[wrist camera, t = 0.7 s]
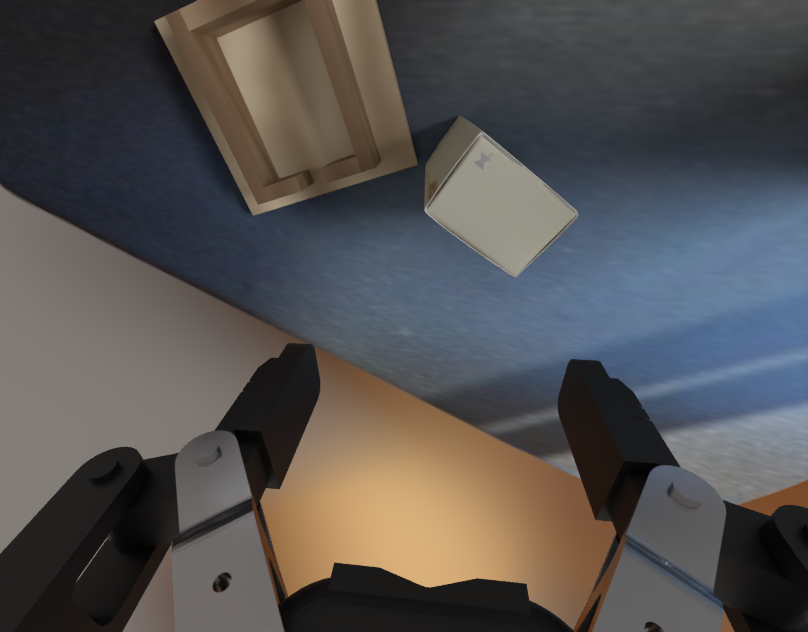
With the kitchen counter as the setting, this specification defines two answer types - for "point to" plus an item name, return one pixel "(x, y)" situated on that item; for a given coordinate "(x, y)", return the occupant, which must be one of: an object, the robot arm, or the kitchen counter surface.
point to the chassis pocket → (293, 93)
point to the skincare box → (492, 199)
